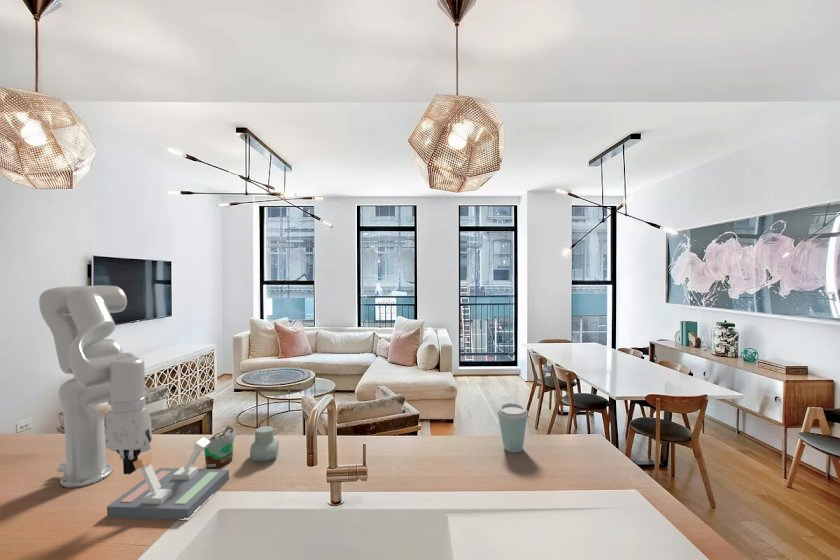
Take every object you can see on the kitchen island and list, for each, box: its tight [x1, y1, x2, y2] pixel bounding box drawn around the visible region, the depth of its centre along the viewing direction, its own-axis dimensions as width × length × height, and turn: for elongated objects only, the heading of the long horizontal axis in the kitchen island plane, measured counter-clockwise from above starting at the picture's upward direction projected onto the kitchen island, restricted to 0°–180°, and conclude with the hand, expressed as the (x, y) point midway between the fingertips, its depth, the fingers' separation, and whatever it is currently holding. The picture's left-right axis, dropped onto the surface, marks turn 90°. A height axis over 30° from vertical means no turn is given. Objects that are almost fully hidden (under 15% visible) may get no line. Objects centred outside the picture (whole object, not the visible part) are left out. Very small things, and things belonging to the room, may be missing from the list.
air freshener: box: [249, 425, 280, 463], centre depth 139 cm, size 11×8×10 cm
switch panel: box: [106, 466, 230, 521], centre depth 116 cm, size 22×20×4 cm
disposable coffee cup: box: [496, 402, 528, 453], centre depth 145 cm, size 11×11×15 cm
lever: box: [183, 437, 210, 471], centre depth 122 cm, size 2×4×10 cm
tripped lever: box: [133, 452, 161, 493], centre depth 110 cm, size 2×4×10 cm, turn 175°
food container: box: [203, 425, 237, 469], centre depth 136 cm, size 12×6×10 cm, turn 168°
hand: (130, 471), depth 110 cm, fingers closed
